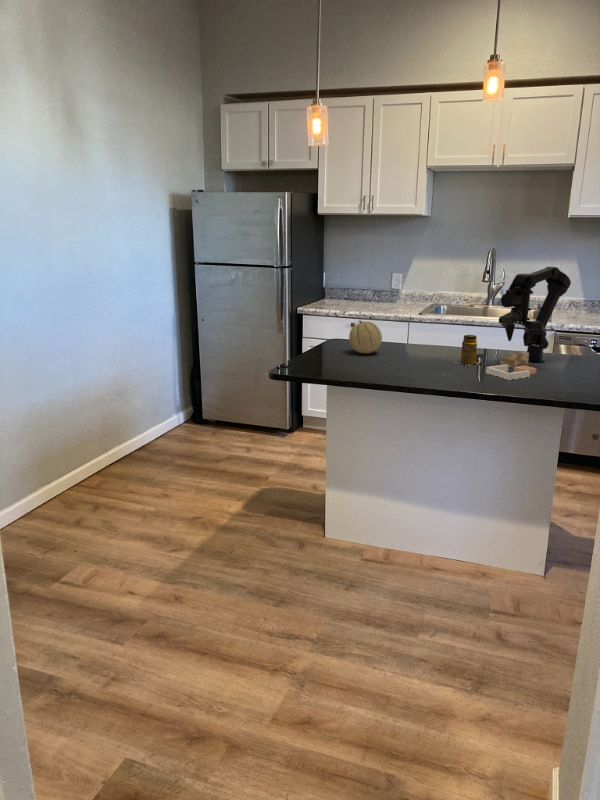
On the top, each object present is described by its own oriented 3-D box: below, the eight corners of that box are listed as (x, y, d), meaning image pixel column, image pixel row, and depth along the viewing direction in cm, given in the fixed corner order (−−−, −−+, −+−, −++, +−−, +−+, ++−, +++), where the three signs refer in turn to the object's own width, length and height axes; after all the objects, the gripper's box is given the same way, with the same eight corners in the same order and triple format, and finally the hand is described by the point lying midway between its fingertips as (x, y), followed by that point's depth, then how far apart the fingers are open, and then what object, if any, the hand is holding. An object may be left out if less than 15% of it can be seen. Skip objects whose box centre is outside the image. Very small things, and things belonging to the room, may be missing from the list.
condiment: (479, 364, 258) (482, 336, 255) (465, 366, 254) (468, 338, 250) (466, 360, 264) (468, 333, 261) (452, 363, 260) (454, 335, 256)
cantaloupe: (382, 357, 270) (384, 323, 266) (349, 356, 271) (350, 323, 266) (379, 350, 285) (380, 318, 280) (347, 350, 285) (348, 318, 281)
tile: (524, 371, 247) (525, 365, 247) (535, 374, 242) (536, 368, 241) (513, 372, 245) (514, 366, 244) (524, 376, 240) (525, 370, 239)
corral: (506, 370, 247) (506, 364, 246) (529, 377, 236) (530, 371, 236) (485, 373, 242) (486, 367, 242) (508, 380, 232) (509, 373, 231)
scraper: (519, 362, 262) (520, 350, 261) (532, 365, 256) (533, 353, 255) (499, 364, 257) (501, 353, 256) (512, 368, 251) (513, 356, 250)
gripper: (490, 303, 254) (487, 340, 259) (524, 309, 238) (520, 348, 243) (510, 302, 259) (506, 338, 263) (545, 307, 243) (540, 346, 247)
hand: (517, 342), depth 254 cm, fingers open, 9 cm apart
